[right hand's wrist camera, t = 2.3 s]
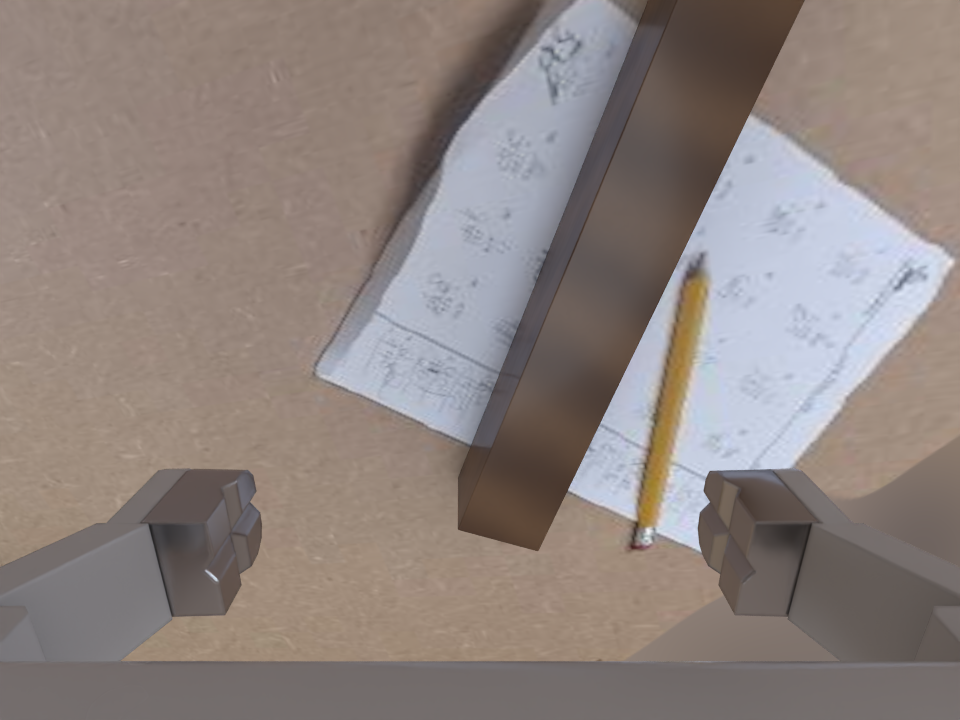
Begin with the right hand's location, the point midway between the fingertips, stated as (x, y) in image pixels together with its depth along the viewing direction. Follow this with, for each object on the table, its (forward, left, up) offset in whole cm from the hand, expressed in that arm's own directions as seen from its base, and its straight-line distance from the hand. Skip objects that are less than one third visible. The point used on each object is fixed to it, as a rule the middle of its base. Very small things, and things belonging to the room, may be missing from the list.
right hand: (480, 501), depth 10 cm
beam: (+19, +10, -26) cm, 33 cm away
